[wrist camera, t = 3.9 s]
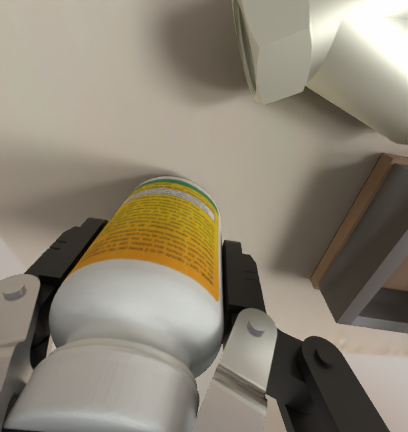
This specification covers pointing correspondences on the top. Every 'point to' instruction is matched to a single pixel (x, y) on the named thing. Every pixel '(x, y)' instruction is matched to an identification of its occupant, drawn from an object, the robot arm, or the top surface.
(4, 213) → the top surface
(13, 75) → the top surface
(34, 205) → the top surface
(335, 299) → the square holder
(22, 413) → the supplement bottle
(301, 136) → the top surface
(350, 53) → the pipe fitting
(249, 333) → the robot arm
